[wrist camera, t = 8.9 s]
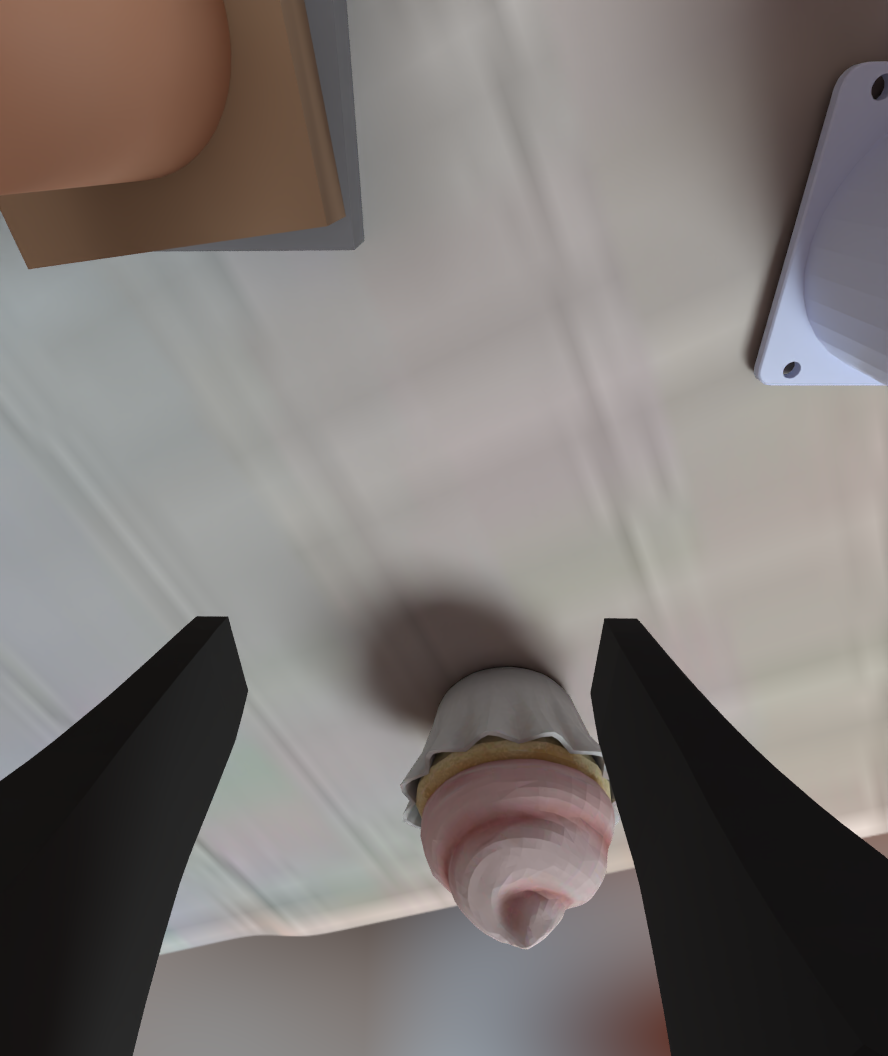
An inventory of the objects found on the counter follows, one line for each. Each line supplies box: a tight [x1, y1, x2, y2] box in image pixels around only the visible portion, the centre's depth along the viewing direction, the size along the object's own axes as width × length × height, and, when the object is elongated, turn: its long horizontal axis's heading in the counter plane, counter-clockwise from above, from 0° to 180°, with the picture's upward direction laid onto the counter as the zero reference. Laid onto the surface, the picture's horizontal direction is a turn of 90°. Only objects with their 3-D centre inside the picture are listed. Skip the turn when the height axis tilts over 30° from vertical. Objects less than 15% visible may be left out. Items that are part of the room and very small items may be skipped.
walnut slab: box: [0, 0, 346, 269], centre depth 12 cm, size 7×7×2 cm
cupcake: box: [400, 667, 620, 949], centre depth 23 cm, size 9×9×10 cm
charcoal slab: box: [159, 0, 364, 251], centre depth 14 cm, size 8×8×2 cm
